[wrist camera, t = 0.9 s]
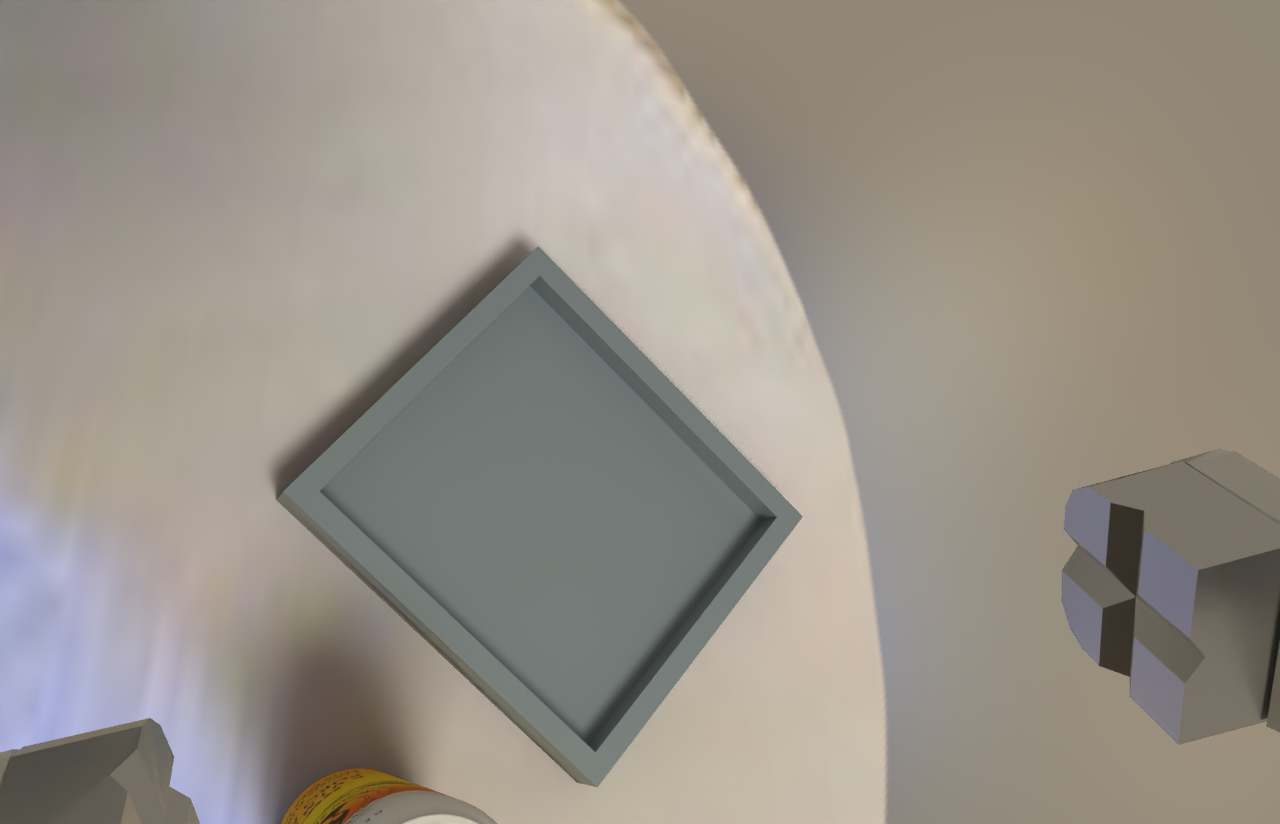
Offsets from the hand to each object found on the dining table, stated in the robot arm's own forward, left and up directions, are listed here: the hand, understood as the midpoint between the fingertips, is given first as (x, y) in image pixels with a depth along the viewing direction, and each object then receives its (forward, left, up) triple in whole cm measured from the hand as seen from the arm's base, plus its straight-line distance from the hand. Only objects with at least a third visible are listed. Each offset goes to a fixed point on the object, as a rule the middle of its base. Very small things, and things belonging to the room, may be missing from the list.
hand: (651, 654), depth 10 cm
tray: (+5, +14, -41) cm, 43 cm away
